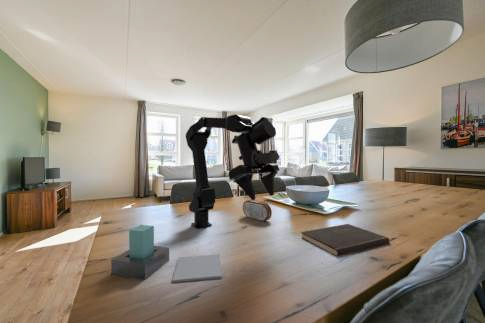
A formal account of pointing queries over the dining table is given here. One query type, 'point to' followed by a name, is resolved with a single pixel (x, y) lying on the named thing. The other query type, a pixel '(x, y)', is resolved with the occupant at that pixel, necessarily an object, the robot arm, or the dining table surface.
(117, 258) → the socket block
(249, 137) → the robot arm
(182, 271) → the mat
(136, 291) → the dining table surface
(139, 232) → the peg
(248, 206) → the portable speaker
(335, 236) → the hardcover book
